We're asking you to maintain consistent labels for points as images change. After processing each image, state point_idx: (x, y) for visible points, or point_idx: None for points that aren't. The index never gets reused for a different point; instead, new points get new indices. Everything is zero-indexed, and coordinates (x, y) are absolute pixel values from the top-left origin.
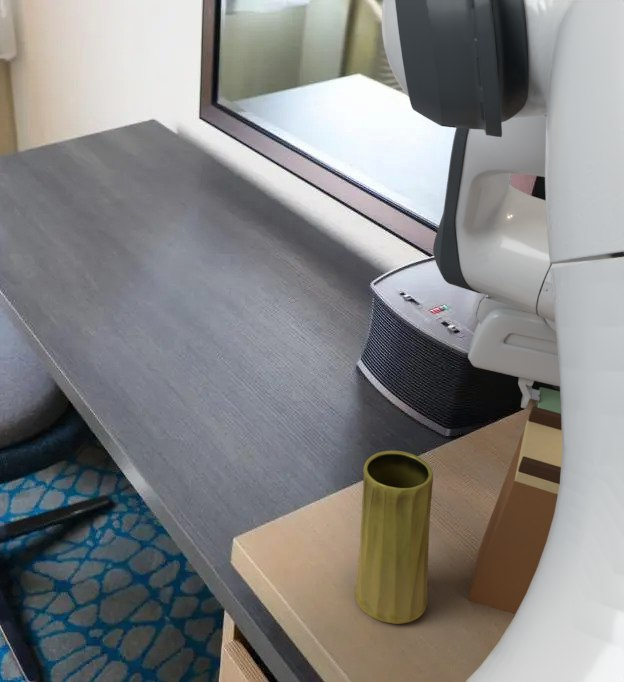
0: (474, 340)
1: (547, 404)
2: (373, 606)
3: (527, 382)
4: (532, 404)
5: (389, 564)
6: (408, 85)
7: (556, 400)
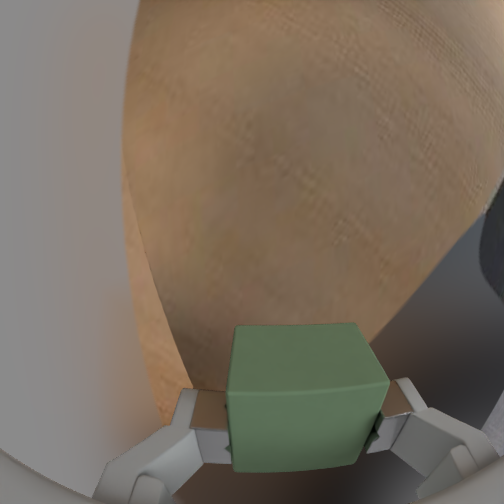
0: None
1: (350, 417)
2: None
3: (468, 453)
4: (390, 398)
5: None
6: None
7: (312, 443)
